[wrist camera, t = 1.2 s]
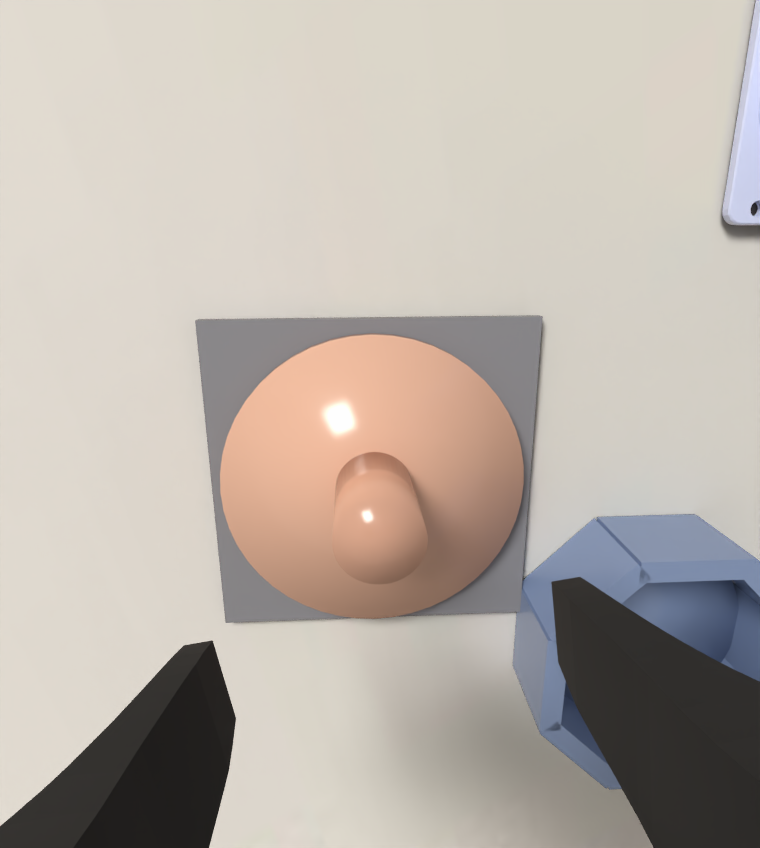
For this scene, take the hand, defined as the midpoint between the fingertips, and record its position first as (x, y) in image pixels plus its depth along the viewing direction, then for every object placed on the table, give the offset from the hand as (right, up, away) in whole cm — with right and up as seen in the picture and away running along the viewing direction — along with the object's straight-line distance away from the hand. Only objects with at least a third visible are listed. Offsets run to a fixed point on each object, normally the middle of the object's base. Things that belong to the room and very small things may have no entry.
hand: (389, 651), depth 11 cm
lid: (0, +3, +9) cm, 10 cm away
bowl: (+11, -4, +12) cm, 16 cm away
